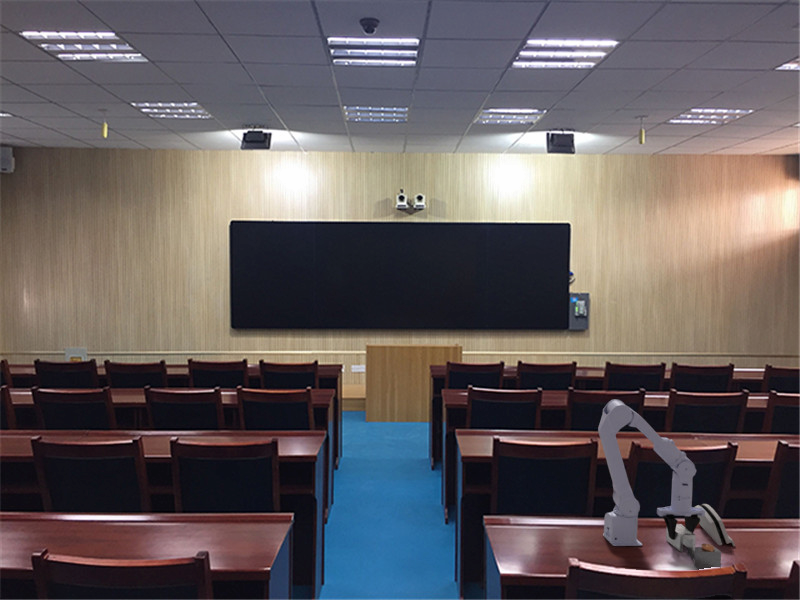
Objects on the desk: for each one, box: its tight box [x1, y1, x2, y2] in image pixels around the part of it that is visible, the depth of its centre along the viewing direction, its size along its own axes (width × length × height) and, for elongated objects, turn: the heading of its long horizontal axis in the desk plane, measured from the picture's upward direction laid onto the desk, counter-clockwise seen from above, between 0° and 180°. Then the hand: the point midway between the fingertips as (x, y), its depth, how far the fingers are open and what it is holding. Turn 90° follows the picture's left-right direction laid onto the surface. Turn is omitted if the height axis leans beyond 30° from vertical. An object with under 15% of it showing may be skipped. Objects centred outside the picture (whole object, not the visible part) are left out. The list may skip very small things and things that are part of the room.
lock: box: [665, 523, 697, 552], centre depth 180 cm, size 8×5×5 cm, turn 4°
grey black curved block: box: [694, 503, 736, 547], centre depth 190 cm, size 17×5×10 cm, turn 172°
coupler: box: [687, 543, 722, 570], centre depth 170 cm, size 6×11×6 cm, turn 4°
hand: (679, 538), depth 181 cm, fingers closed on lock, 5 cm apart
